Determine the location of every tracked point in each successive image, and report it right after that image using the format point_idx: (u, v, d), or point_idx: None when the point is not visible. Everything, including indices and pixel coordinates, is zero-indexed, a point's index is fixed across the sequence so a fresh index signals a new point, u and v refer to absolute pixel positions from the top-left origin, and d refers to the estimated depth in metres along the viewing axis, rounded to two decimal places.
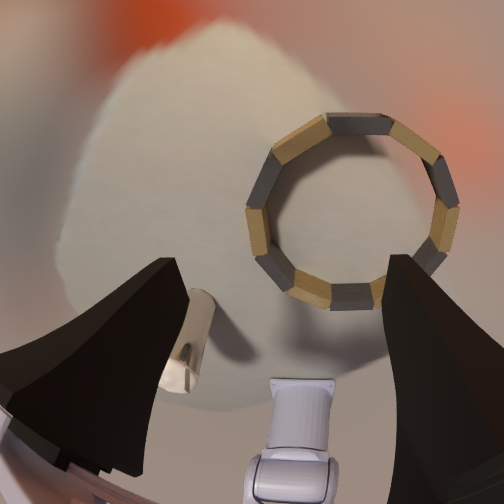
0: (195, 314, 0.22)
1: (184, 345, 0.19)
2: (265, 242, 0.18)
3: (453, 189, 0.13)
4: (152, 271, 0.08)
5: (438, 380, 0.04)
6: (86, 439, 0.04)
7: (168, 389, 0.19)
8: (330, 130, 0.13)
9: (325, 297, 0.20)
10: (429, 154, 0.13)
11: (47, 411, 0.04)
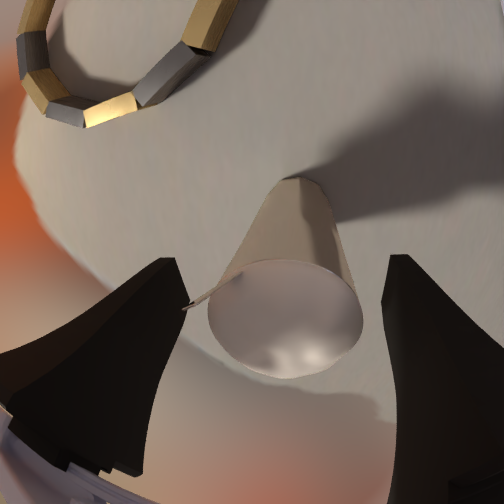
0: (258, 214, 0.12)
1: (234, 255, 0.09)
2: (117, 97, 0.10)
3: None
4: (152, 272, 0.08)
5: (438, 380, 0.04)
6: (86, 439, 0.04)
7: (316, 355, 0.07)
8: (27, 74, 0.10)
9: None
10: None
11: (47, 411, 0.04)
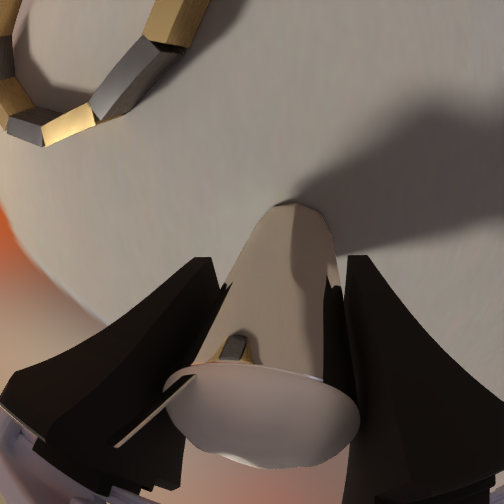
0: (240, 256, 0.09)
1: (198, 327, 0.07)
2: (74, 109, 0.08)
3: None
4: (191, 272, 0.08)
5: (374, 387, 0.04)
6: (130, 459, 0.04)
7: (295, 464, 0.05)
8: None
9: None
10: None
11: (91, 436, 0.03)
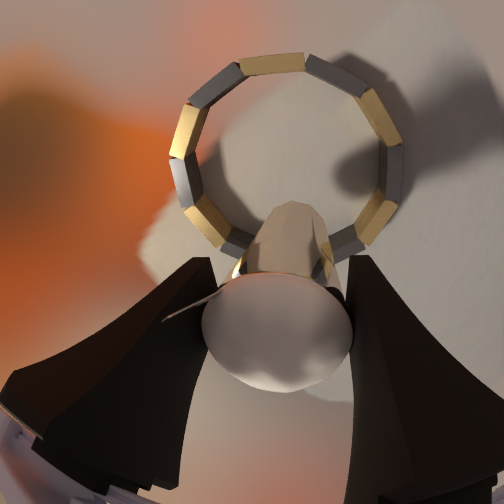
0: None
1: None
2: None
3: (218, 75, 0.13)
4: (189, 272, 0.08)
5: (377, 387, 0.04)
6: (128, 458, 0.04)
7: (305, 363, 0.07)
8: (192, 206, 0.18)
9: (379, 205, 0.16)
10: (189, 115, 0.14)
11: (88, 435, 0.03)
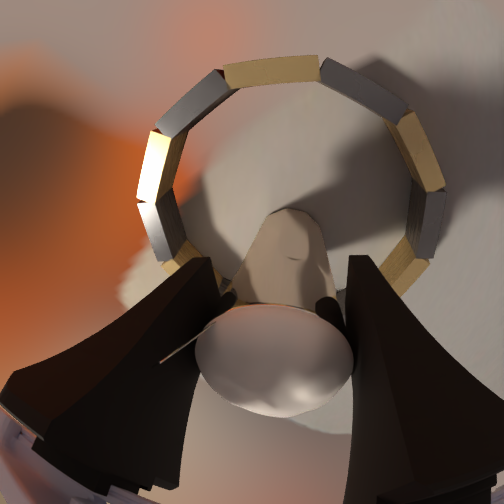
0: (246, 255, 0.12)
1: None
2: None
3: (194, 89, 0.09)
4: (190, 272, 0.08)
5: (376, 387, 0.04)
6: (128, 459, 0.04)
7: (305, 395, 0.06)
8: (171, 260, 0.14)
9: (407, 263, 0.12)
10: (158, 146, 0.11)
11: (89, 435, 0.03)
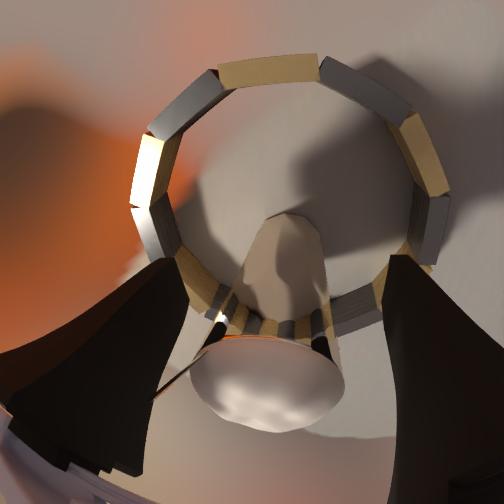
0: (242, 265, 0.12)
1: (212, 322, 0.09)
2: None
3: (188, 90, 0.09)
4: (152, 271, 0.08)
5: (438, 380, 0.04)
6: (86, 439, 0.04)
7: (295, 418, 0.06)
8: None
9: None
10: (151, 150, 0.10)
11: (47, 411, 0.04)
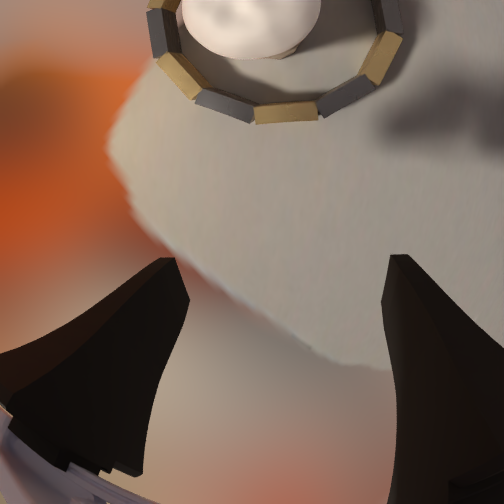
0: None
1: None
2: (298, 104, 0.13)
3: None
4: (152, 272, 0.08)
5: (438, 380, 0.04)
6: (86, 439, 0.04)
7: None
8: (166, 54, 0.12)
9: (381, 37, 0.10)
10: None
11: (47, 411, 0.04)
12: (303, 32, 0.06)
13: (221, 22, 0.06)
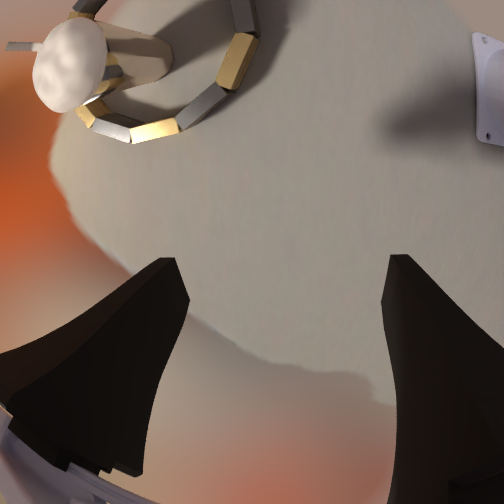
0: None
1: None
2: (162, 121, 0.15)
3: None
4: (152, 272, 0.08)
5: (438, 380, 0.04)
6: (86, 439, 0.04)
7: (64, 54, 0.07)
8: None
9: (232, 41, 0.12)
10: None
11: (47, 411, 0.04)
12: (91, 82, 0.08)
13: (45, 92, 0.08)
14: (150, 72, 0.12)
